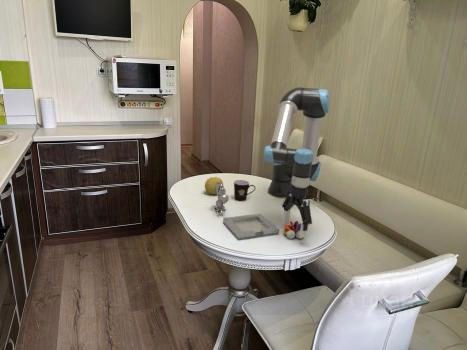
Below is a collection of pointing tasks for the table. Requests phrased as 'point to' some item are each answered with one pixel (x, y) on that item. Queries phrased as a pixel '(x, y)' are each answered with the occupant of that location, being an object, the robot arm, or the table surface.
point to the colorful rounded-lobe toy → (292, 230)
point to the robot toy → (221, 197)
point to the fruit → (212, 185)
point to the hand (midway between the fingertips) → (294, 230)
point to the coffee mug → (241, 189)
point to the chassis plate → (250, 226)
